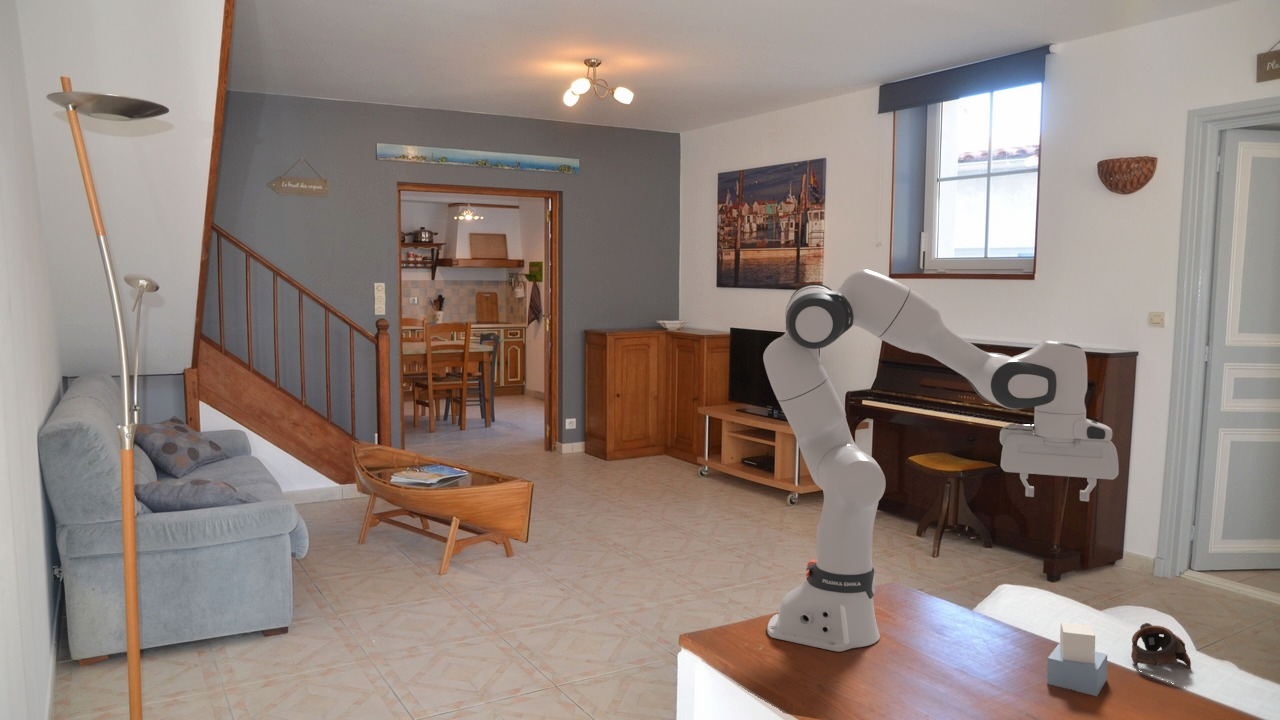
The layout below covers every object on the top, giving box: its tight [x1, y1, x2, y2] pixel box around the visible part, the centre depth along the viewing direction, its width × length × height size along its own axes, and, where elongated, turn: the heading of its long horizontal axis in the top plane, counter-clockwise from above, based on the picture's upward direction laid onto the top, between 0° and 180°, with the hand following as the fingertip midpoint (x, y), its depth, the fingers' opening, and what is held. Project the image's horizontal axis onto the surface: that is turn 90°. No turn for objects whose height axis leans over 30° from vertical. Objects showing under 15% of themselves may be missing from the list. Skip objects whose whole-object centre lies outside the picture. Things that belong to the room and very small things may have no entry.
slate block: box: [1046, 643, 1108, 697], centre depth 155 cm, size 8×8×5 cm
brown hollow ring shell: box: [1131, 622, 1192, 670], centre depth 163 cm, size 12×10×8 cm
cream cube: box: [1059, 621, 1096, 664], centre depth 155 cm, size 5×5×5 cm
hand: (1056, 498), depth 166 cm, fingers open, 8 cm apart
